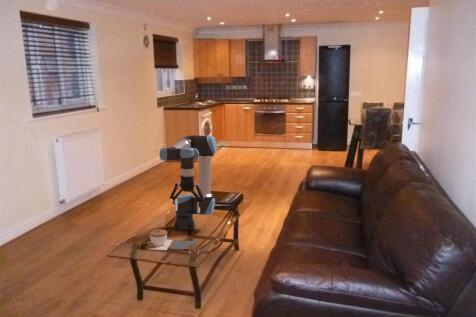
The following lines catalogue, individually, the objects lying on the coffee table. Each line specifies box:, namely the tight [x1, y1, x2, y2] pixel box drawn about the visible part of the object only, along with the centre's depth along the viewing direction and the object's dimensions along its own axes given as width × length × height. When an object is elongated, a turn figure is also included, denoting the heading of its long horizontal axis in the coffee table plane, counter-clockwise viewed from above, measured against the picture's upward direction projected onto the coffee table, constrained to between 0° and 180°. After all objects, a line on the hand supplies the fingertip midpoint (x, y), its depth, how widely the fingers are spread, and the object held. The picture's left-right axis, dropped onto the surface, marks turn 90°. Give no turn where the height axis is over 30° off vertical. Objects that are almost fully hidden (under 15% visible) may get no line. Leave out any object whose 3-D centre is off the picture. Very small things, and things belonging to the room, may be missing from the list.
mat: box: [169, 239, 197, 251], centre depth 255 cm, size 14×14×1 cm
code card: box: [147, 238, 173, 251], centre depth 256 cm, size 17×14×1 cm
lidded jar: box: [149, 228, 168, 246], centre depth 255 cm, size 11×11×9 cm
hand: (187, 211), depth 236 cm, fingers open, 13 cm apart
